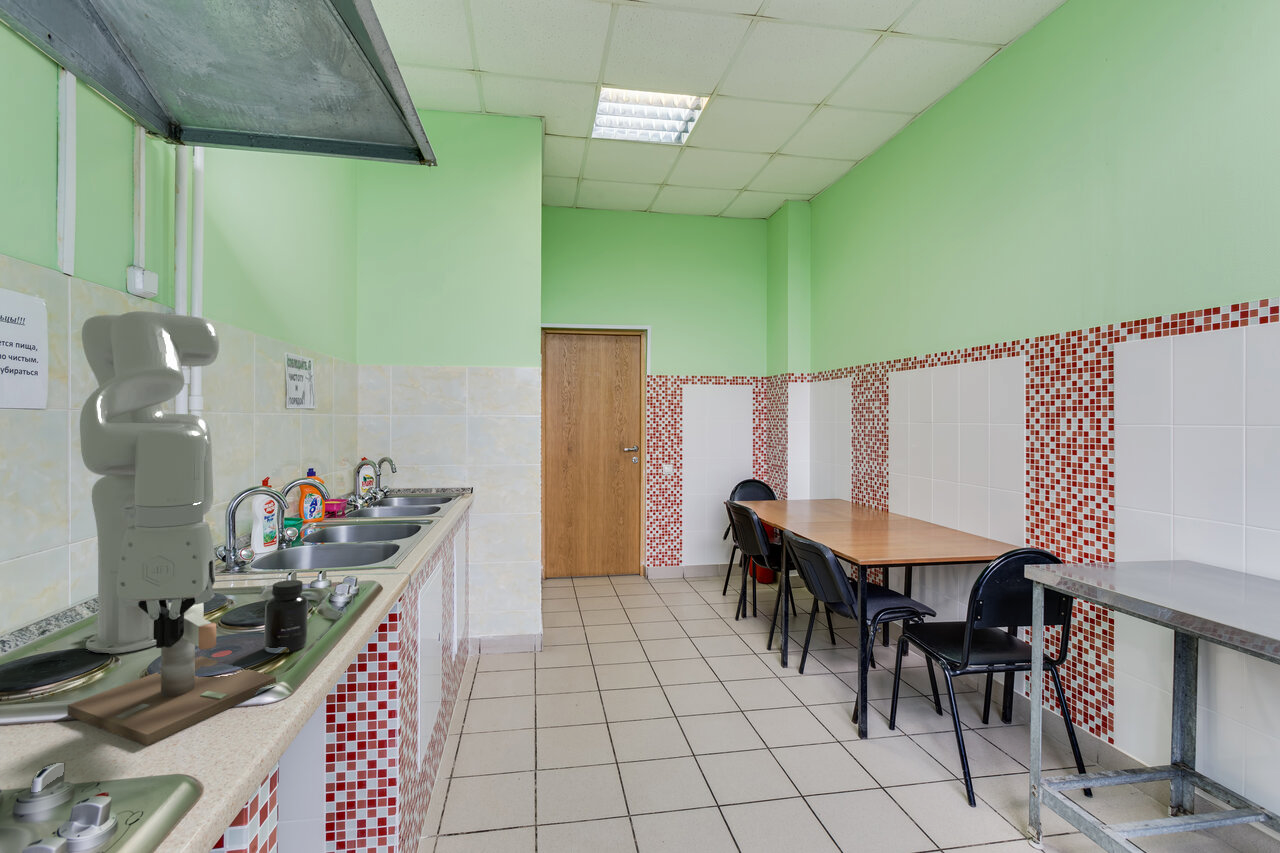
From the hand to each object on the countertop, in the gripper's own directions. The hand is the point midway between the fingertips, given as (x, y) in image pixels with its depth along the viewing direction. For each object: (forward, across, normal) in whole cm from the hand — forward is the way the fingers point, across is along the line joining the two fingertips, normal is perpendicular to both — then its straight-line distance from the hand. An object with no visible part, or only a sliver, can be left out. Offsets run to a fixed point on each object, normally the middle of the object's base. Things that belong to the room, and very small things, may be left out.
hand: (168, 643), depth 82 cm
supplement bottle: (+11, +8, +24) cm, 28 cm away
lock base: (+11, -1, +6) cm, 13 cm away
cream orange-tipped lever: (0, +1, +3) cm, 3 cm away
